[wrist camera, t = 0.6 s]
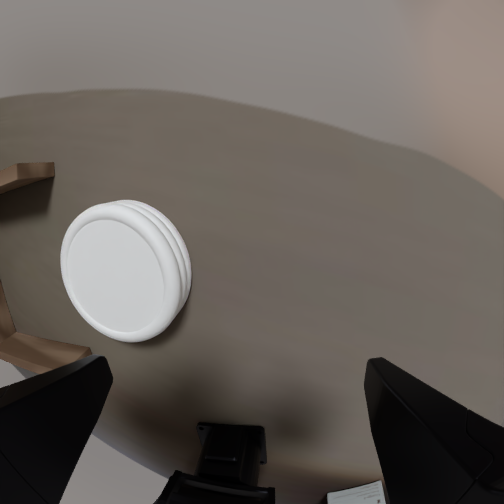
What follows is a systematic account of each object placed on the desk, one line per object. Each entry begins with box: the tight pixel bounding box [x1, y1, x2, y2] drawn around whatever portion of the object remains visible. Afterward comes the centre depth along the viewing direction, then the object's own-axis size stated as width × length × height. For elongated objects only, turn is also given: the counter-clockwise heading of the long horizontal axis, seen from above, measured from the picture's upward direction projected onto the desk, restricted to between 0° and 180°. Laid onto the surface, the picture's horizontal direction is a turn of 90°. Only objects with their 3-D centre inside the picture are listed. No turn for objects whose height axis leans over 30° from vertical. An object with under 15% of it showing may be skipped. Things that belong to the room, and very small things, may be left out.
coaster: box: [61, 200, 192, 342], centre depth 19 cm, size 10×10×4 cm
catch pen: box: [0, 162, 92, 374], centre depth 20 cm, size 18×14×4 cm
